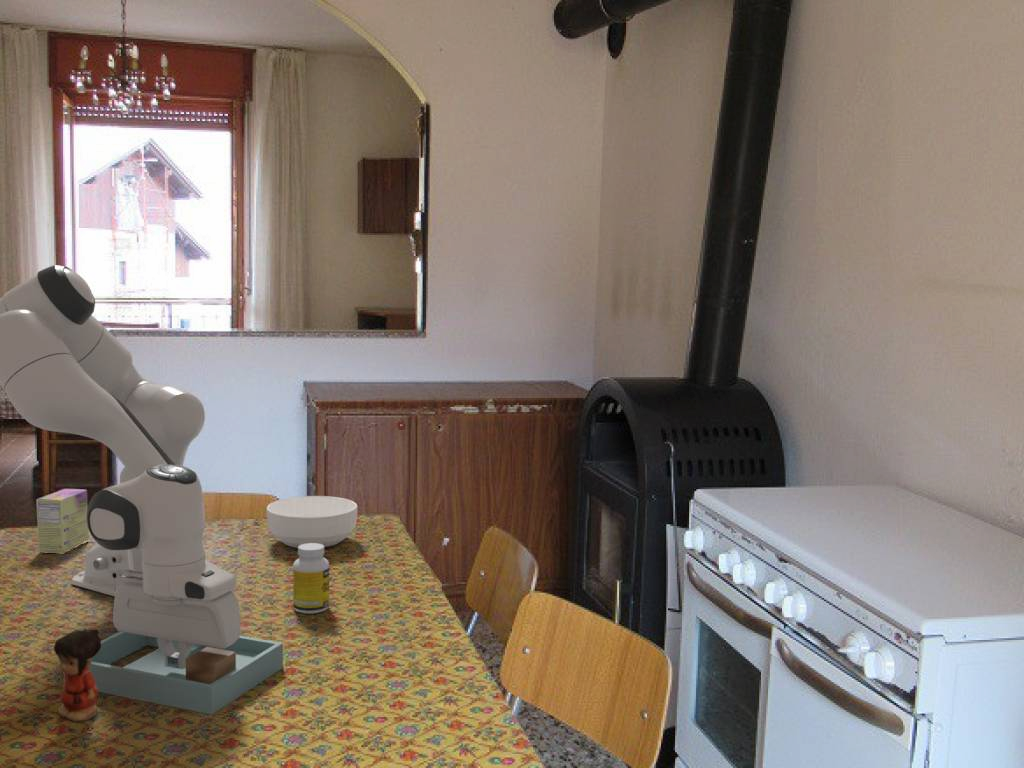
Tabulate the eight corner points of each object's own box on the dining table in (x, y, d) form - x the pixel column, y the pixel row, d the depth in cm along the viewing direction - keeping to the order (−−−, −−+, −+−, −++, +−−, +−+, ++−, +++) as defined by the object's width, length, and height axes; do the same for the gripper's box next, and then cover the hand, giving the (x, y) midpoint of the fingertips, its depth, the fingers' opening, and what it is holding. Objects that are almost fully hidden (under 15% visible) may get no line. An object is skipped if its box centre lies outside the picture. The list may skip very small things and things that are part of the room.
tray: (64, 684, 153) (63, 658, 153) (146, 642, 170) (145, 619, 170) (211, 714, 145) (211, 687, 144) (283, 667, 161) (282, 643, 161)
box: (65, 540, 228) (63, 487, 226) (89, 542, 227) (87, 489, 226) (37, 553, 218) (35, 498, 216) (62, 555, 217) (60, 500, 215)
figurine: (65, 703, 147) (62, 622, 146) (105, 703, 148) (103, 622, 146) (49, 723, 141) (46, 639, 139) (91, 723, 141) (89, 638, 140)
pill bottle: (321, 616, 184) (321, 553, 183) (287, 613, 186) (286, 550, 184) (334, 604, 191) (334, 543, 189) (301, 601, 192) (301, 540, 190)
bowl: (349, 557, 220) (349, 518, 219) (256, 554, 220) (256, 516, 219) (363, 532, 240) (363, 496, 239) (278, 530, 240) (278, 494, 239)
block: (185, 685, 149) (185, 658, 149) (207, 672, 154) (207, 646, 153) (215, 691, 148) (214, 664, 147) (235, 678, 152) (235, 651, 152)
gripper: (101, 574, 152) (104, 664, 154) (220, 591, 146) (221, 685, 147) (130, 562, 158) (133, 648, 160) (245, 578, 151) (247, 668, 153)
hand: (176, 666), depth 154 cm, fingers closed
